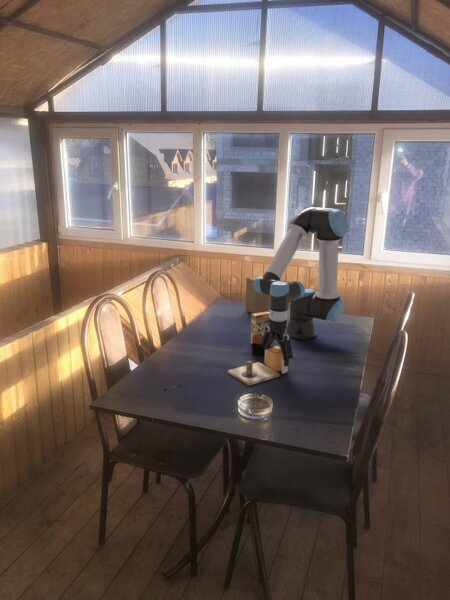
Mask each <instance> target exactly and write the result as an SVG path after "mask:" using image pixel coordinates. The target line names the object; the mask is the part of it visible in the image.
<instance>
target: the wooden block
mask: <svg viewBox="0 0 450 600" xmlns="http://www.w3.org/2000/svg"><path fill="white" fill-rule="evenodd" d="M258 276H262V275H254V276H247V277H246V284H245V285H246V287H245V288H246V289H245V292H246V294H245V311H246V312H248V313H251V314H252V313H259V312H266V311H268V312H269V310H270V296H269V295H263V294H260V293H257V292H256V291H255V290H254V286H253V285H254V281H255V279H256V278H257V277H258Z"/></svg>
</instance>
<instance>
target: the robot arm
mask: <svg viewBox="0 0 450 600" xmlns="http://www.w3.org/2000/svg"><path fill="white" fill-rule="evenodd" d="M348 227H349V221H348V217H347V214H346V213H345V211H344V210H342V209H338V208H331V207H330V208H329V207H317V206H311V207H307V208H305V209H303V210H301V211H300V212H298V213H297V214H296V215H295V216H294V218H292V219H291V221H290V222H289V225H288V226H287V233H286V234H285V237H284V238H283V239H282V242H281V244H280V245H279V247H278V249H277V251H276V252H275V255H274V256H273V257H272V260H271V261H270V263H269V265H268V267H267V269H266V271H265V273H264V274H263V275H261V276H260V275H257V276H258V277H257V278H256V279H255V281H254V285H253V286H254V290H255V291H256V292H257V293H260V294H263V295H269V296H270V301H269V318H270V319H269V326H268V327H265V333H264V336H263V340H262V343H261V346H263V347H264V355H265V356H264V364H263V365H266V355H267V350H268V349H272V347H271V346H272V344H273V343H274V341H276V342H277V344H278V346H279V347H280V348H281V351H282V355H283V358H282V370H281V371H280V372H281V374H285V373H288V371H289V363H290V360H291V359H294V356H293V355H294V354H293V349H292V344H291V338H292V339H295V340H296V339H297V340H308V339H313V338H315V337H316V335H317V330H316V327H315V322H314V319H316V320H321V321H325V322H326V323H336V322H338V321H339V320H340V318H341V317H342V315H343V314H344V313H343V312H344V310H345V301H344V299H342V298H341V292H339V291H338V271H339V270H338V269H339V268H338V267H339V242H340V241H341V240H342V239H343V236H346V234H347V232H348ZM310 233H312V234H315V235H316V236H315V238H316V240H317V241H318V242H319V248H318V249H319V250H318V257H319V258H318V290H317V291H316V290H314V289H312V288H305V286H304V284H303V283H302V282H301V281H298V280H295V281H286V280H282V277H283V276H284V275H285V272H286V271H287V269H288V267H289V265H290V263H291V261H292V259H293V257H294V255H295V254H296V252H297V251H298V248H299V246H300V244H301V243H302V240H303V239H306V238H307V236H308V235H309V234H310ZM289 303H290V305H289ZM289 306H290V310H288V309H289V308H288V307H289ZM288 311H289V320H288Z"/></svg>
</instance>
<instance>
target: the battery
mask: <svg viewBox="0 0 450 600" xmlns="http://www.w3.org/2000/svg"><path fill="white" fill-rule="evenodd" d="M263 336H264V333H262V334H260V333H258V332H256V333H255V334H254V335H253V336H252V344H251V354H252V355H257V356H261V357H265V355H264V347H263V346H261V343H262V340H263Z"/></svg>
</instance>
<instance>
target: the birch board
mask: <svg viewBox="0 0 450 600" xmlns="http://www.w3.org/2000/svg"><path fill="white" fill-rule="evenodd" d="M227 373H228V374H229V375H230V376H232V377H234V378H235V379H236V380H238V381H240V382H241V383H243V384H245V385H246V386H249V387H250V386H253V385H255V384H258V383H262V382H265V381H269V380H272V379H275V378H278V377H280V373H279V372H278V371H277V372H276V371H274V370H272V369H270V368H268V367H267V366H266V364H263V363H261V362H259V361H256V362H254V363H253V361H252V360H248V361H246V365H244V366H243V365H242V366H239V367H236V368H235V367H234V368H232V369H228V370H227Z"/></svg>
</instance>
